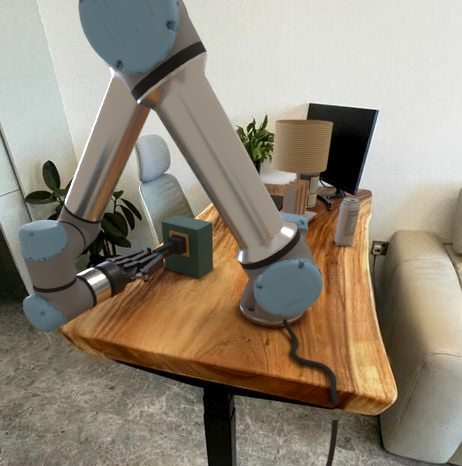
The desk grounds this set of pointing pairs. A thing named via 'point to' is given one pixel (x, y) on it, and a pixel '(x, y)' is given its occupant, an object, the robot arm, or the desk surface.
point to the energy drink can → (347, 221)
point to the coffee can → (311, 187)
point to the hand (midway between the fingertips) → (172, 247)
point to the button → (178, 243)
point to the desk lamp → (300, 158)
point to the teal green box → (190, 245)
